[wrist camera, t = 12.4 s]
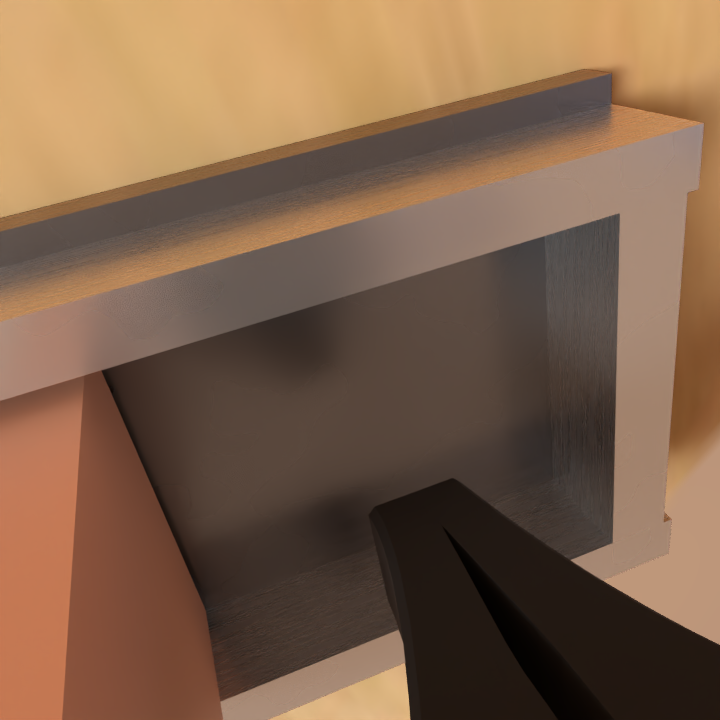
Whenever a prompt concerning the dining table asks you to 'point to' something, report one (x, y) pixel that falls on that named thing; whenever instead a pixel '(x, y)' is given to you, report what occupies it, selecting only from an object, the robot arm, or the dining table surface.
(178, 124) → the dining table surface
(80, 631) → the plate
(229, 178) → the pusher lane
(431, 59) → the dining table surface
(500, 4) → the dining table surface
